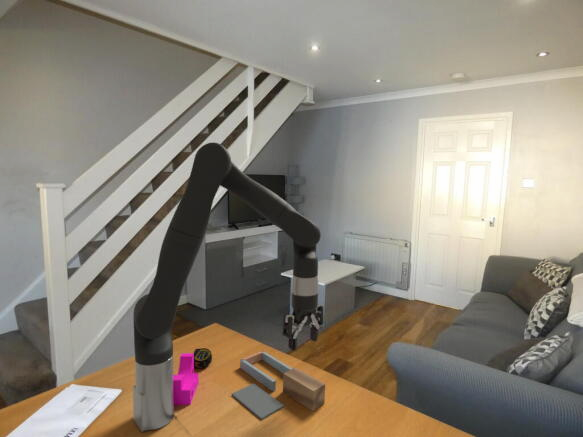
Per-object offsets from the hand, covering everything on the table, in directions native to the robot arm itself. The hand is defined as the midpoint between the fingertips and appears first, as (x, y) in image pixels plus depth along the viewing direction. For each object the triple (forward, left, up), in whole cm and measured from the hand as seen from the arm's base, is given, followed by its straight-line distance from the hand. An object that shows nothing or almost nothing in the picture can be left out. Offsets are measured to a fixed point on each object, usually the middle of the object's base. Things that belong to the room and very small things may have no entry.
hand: (303, 345), depth 99 cm
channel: (0, +16, -16) cm, 22 cm away
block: (0, 0, -16) cm, 16 cm away
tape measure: (-14, +38, -16) cm, 43 cm away
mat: (-11, +7, -16) cm, 21 cm away
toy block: (-24, +26, -16) cm, 39 cm away
